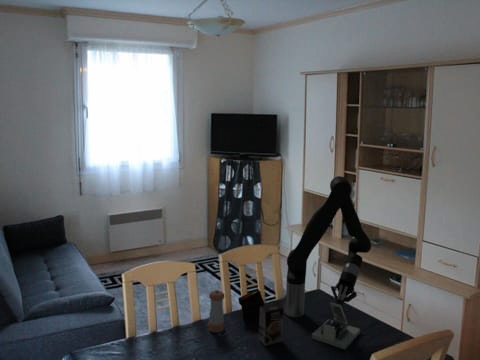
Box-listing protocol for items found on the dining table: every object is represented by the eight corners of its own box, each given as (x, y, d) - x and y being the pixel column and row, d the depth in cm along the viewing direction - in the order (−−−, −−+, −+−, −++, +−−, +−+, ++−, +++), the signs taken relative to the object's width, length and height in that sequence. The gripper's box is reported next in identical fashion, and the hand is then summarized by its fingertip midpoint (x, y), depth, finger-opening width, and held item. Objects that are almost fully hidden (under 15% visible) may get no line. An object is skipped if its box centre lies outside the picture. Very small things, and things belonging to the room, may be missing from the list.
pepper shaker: (212, 333, 218) (213, 294, 215) (206, 327, 224) (206, 288, 221) (226, 330, 222) (227, 291, 218) (219, 323, 228) (220, 286, 224)
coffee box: (265, 346, 209) (266, 312, 206) (258, 339, 214) (259, 306, 211) (282, 341, 213) (284, 308, 210) (275, 335, 218) (276, 302, 215)
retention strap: (334, 318, 223) (328, 304, 215) (335, 316, 223) (330, 301, 215) (345, 322, 220) (340, 307, 211) (347, 319, 220) (341, 304, 212)
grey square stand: (311, 338, 216) (312, 320, 215) (328, 323, 231) (329, 306, 229) (344, 349, 207) (346, 331, 206) (360, 333, 222) (361, 316, 220)
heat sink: (320, 333, 217) (321, 325, 216) (328, 326, 223) (328, 318, 222) (341, 340, 211) (341, 332, 210) (348, 333, 217) (348, 325, 217)
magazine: (272, 317, 232) (259, 291, 229) (247, 328, 232) (234, 303, 229) (270, 313, 236) (258, 288, 233) (246, 325, 236) (234, 299, 232)
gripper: (334, 268, 225) (322, 301, 217) (361, 274, 218) (349, 309, 210) (338, 275, 231) (326, 308, 223) (364, 281, 223) (353, 315, 215)
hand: (337, 308), depth 216 cm, fingers closed
